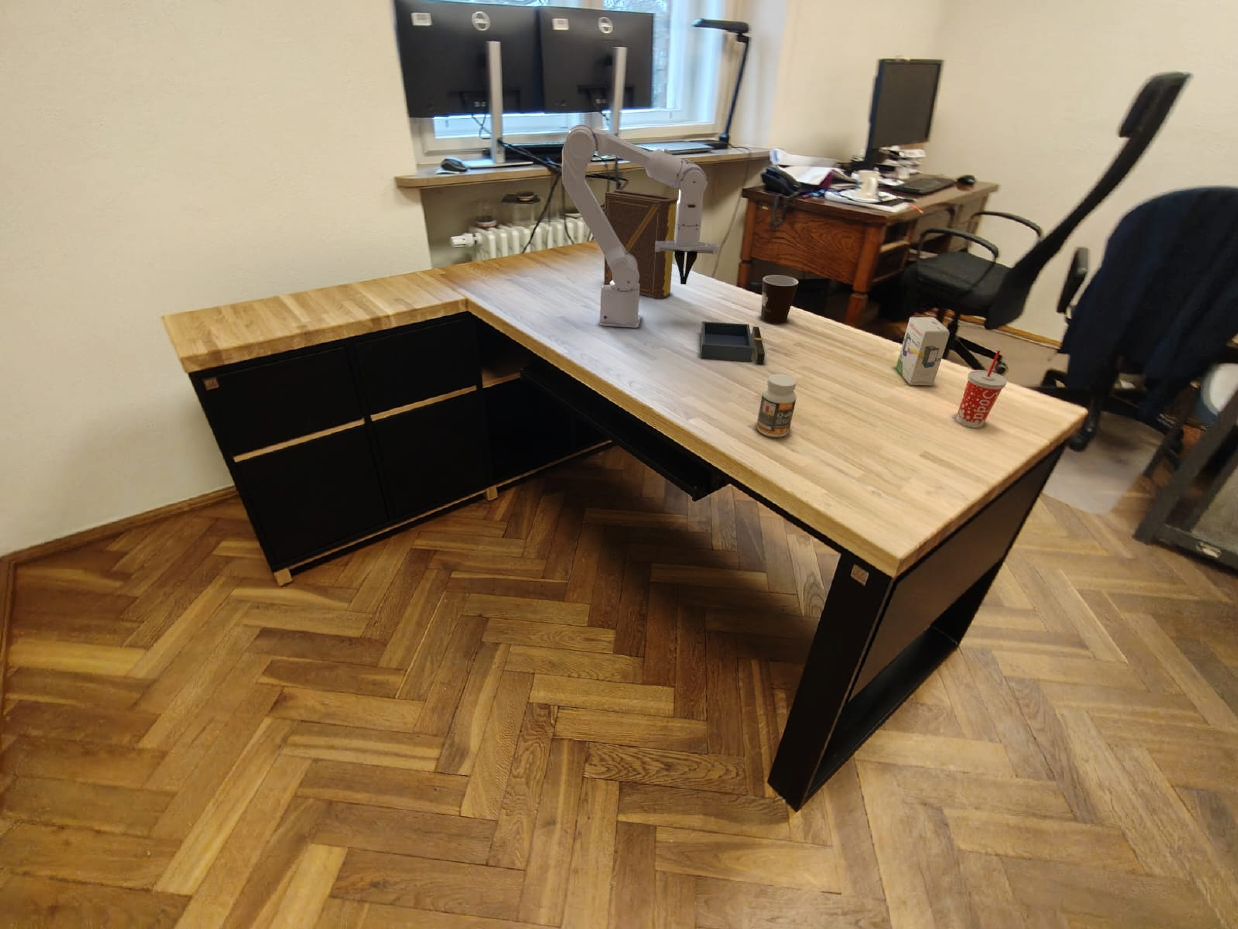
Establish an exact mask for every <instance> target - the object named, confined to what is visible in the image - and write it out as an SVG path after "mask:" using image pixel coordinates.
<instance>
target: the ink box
mask: <svg viewBox="0 0 1238 929" xmlns="http://www.w3.org/2000/svg"><path fill="white" fill-rule="evenodd" d="M905 330H906V331H905V334H904V337H903V340H902V344H901V348H900V350H899V351H900V352H899V355H898V359H897V362H896V366H895V370H897V372H898V373H899V374H900V375H901V376H902V377H903V378H904V380H905V381H906V382H907V383H908V384H909V385H910V386H934V384H935V381H936V378H937V375H938V372H939V369H940V366H941V365H940V364H941V362H942V359H943V355H944V352H945V350H946V346H947V344H948V340H949V337H950V333H951V332H950V330H949V329H948V328H947V327H946V326H944V324H942V323H941V322H940V321H939V320H938V319H937V318H935V317H934V316H925V317H923V316H922V317H918V316H917V317H915V316H914V317H913V316H912V317H909V320H908V323H907V327H906V329H905Z"/></svg>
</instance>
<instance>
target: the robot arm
mask: <svg viewBox="0 0 1238 929" xmlns="http://www.w3.org/2000/svg"><path fill="white" fill-rule="evenodd" d="M561 150H562V151H561V156H562V157H561V158H562V161H561V162H562V163H561V182H562V183H561V184H562V185H563V187H564V189H565V191H566V192H567V194H568V196H569V198H570V199H571V201H572V203H573V204H574V206H575V208H576V209H577V211H578V213H579V214H580V217H581V219H582V220H583V221H584V223H585V225H586V226H587V228H588V230H589V231H590V233H591V236H592V237H593V238H594V240H595V242H596V244H597V246H598V247H599V249H600V251H601V252H602V254H603V256H605V258H606V261H607V263H608V266H609V267H610V269H611V271H612V279H613V280H612V282H610V285H604V284H602V286H601V289H600V306H599V307H600V311H599V315H600V316H599V317H600V320H599V322H600V323H599V325H600V326H602V327H603V326H604V327H620V328H634V329H638V328H639V326H640V322H641V319H642V315H641V314H639V311H640V295H639V289H640V284H639V283H638V281H639V271H638V269H637V267H638V265H637V261H636V259H635V258H634V256H632V255H631V254H629V253H628V252H627V251H626V249H625V248H624V246H623V245H622V243H621V242H620V241H619V239H618V237H617V235H616V234H615V232H614V230H613V228H612V226H611V225H610V223H609V221H608V219H607V218H606V216H605V211H603V208H602V207H601V205H600V203H599V202H598V200H597V198H596V196H595V194H594V192H593V190H592V189H591V187H590V186H589V184H588V182H587V180H586V175H587V170H588V165H589V164H590V162H591V161H592V159H593V157H594V155H595V153H596V152H597V158H602V157H606V156H613V157H617V158H619V159H622V160H624V161H626V162H628V163H631V164H634V165H637V166H639V167H642V168H644V169H645V173H646V174H647V177H648V178H650V179H653V180H655V181H658V182H660V183H662V184H665V185H667V186H669V187H672V188H679V190H678V199H677V206H676V219H675V233H674V241H656V243H655V252H659V251H670V252H673V256H674V257H673V258H674V261H675V263H676V265H677V269H678V273H679V281H680V285H687V281H688V279H689V275H690V272H691V270H692V268H693V265H694V264H695V262H696V261H697V258H698V254H706V255H707V254H709V255H713V256H717V255H718V252H719V244H718V243H709V242H703V241H702V242H701V241H700V239H701V228H702V216H703V207H704V202H703V200H704V192H705V191H706V190H707V187H708V183H709V182H708V181H707V175H706V172H705V171H704V169H702V168H701V167H700V166H699V165H697V164H696V163H695V162H691V160H690V159H688V158H684V159H682V158H680V157H678V156H675V155H673V154H671V151H670V149H667V148H666V147H664V148H663V150H662V149H660V148H657V149H655V150H653V151H647V150H646V149H643V148H642V147H640V146H637V145H636V144H634V143H631V142H629V141H628V140H625V139H623V138H621V137H619V136H617V135H615V134H613V133H610V132H608V131H605V130H602V129H598V128H594V127H593V129H592V128H591V127H590V126H588V125H586V124H577V125H574V126H573V127H572V128H571V129H570V130H569V131H568V134H567V136H566V139H565V141H564V144H563V147H562V149H561Z"/></svg>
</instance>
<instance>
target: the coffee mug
mask: <svg viewBox="0 0 1238 929" xmlns="http://www.w3.org/2000/svg"><path fill="white" fill-rule="evenodd" d="M798 285H799V280H798V279H796V278H794V277H791V276H788V275H779V274H771V275H766V276H764V277H763V278H762V290H761V310H760V320H761V321H762V322H764V323H768V324H773V325H782V324H785V323H786V322H787V321H788V316H789V314H790V311H791V307H792V305H793V301H794V298H795V294H796V292H797V288H798Z"/></svg>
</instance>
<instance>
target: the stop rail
mask: <svg viewBox="0 0 1238 929" xmlns="http://www.w3.org/2000/svg"><path fill="white" fill-rule="evenodd" d="M751 338H752V344H753V353H754V359H755V364H756V365H764V362H765V358H766V357H765V356H766V353H765V347H764V343H763V338H762V335H761V330H760V326H752V328H751Z"/></svg>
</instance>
